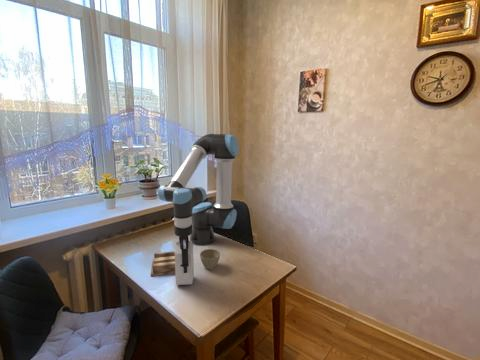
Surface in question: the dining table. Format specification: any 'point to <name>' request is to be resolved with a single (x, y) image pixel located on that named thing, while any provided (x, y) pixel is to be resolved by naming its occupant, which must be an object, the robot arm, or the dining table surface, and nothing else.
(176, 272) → the milk carton
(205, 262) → the flower pot
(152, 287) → the dining table surface
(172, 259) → the display stand
